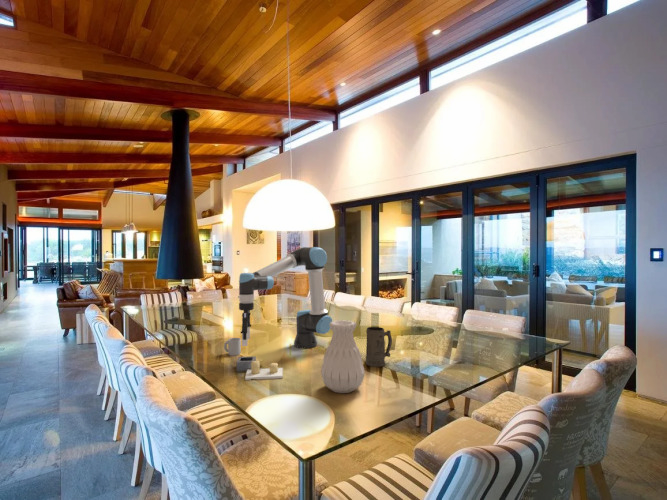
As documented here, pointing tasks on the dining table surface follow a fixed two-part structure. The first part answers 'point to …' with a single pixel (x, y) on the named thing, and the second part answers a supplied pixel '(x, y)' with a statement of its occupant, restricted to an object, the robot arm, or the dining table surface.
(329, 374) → the vase
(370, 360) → the beer stein
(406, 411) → the dining table surface
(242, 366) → the collar
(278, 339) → the dining table surface
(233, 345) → the cup
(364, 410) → the dining table surface
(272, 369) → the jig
